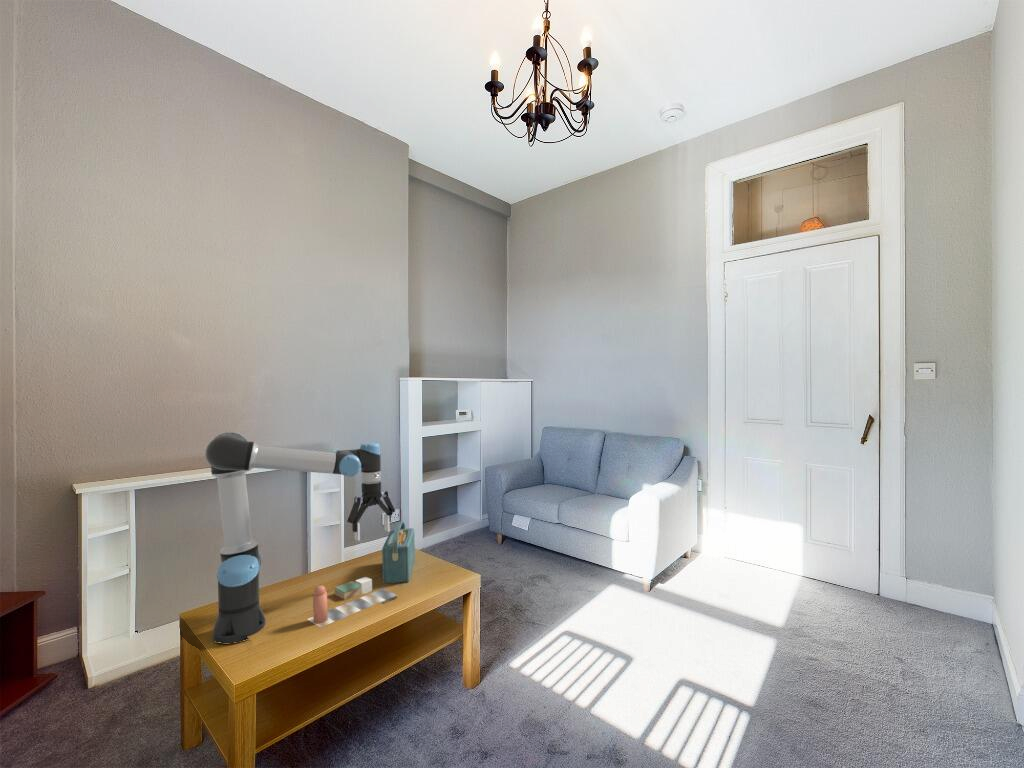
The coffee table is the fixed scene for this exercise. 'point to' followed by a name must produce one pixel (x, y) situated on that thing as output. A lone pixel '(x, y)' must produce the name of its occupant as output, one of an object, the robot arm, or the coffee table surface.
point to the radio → (398, 555)
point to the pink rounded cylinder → (320, 605)
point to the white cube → (365, 584)
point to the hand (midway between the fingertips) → (372, 535)
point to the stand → (348, 590)
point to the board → (356, 606)
